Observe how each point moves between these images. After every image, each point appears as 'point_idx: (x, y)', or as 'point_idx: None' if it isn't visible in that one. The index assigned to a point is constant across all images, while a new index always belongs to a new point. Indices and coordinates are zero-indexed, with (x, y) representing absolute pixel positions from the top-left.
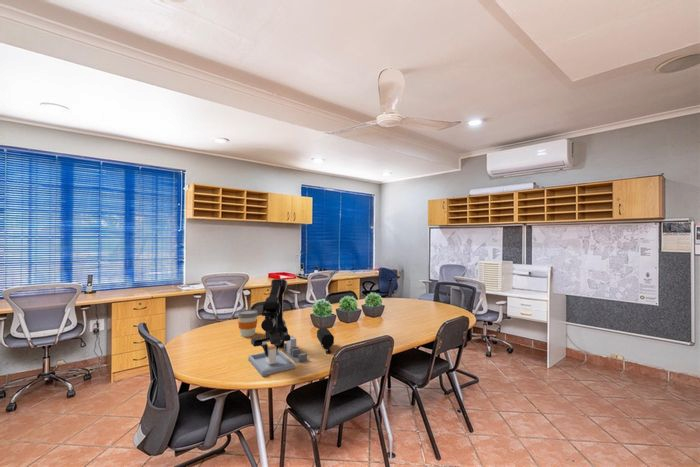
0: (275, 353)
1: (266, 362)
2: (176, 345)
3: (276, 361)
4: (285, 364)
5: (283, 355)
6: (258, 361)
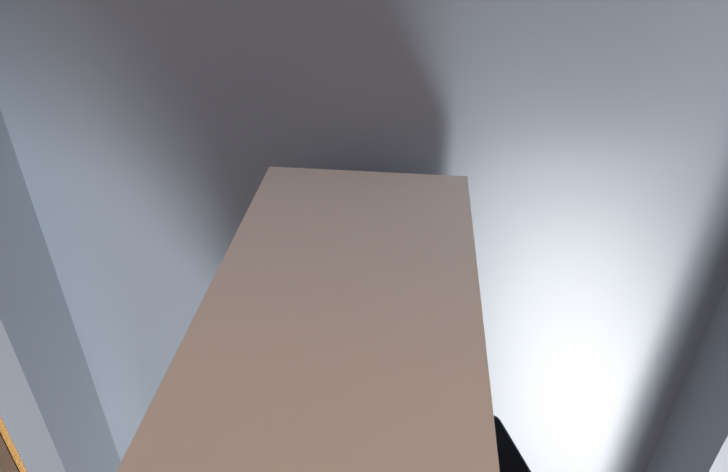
0: (205, 374)
1: None
2: None
3: None
4: (35, 23)
5: (10, 390)
6: (547, 466)
